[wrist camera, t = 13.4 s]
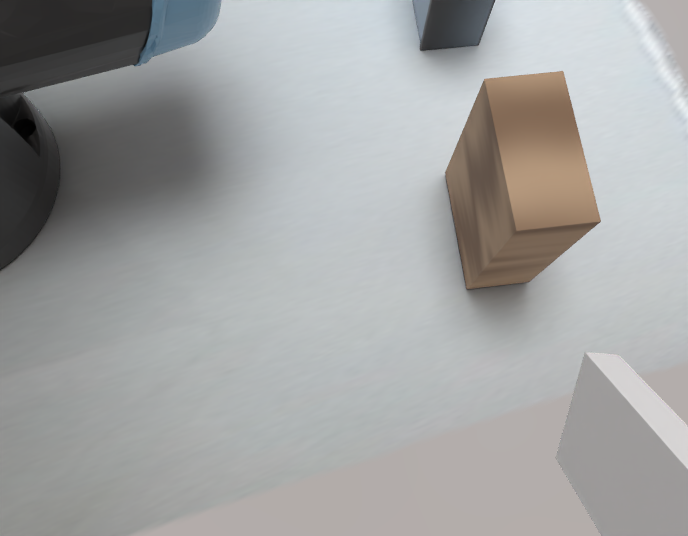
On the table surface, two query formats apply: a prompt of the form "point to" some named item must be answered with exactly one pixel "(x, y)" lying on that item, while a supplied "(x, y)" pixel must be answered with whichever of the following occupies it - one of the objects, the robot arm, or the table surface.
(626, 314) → the table surface
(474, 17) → the blue-gray rectangular block
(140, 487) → the table surface
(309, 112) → the table surface
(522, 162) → the stub
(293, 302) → the table surface
